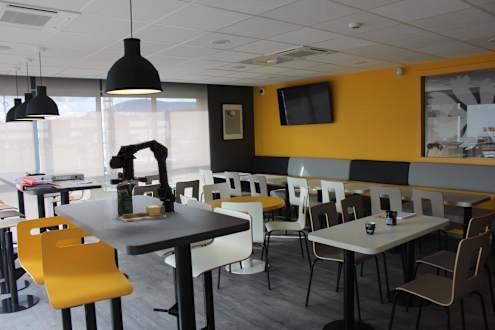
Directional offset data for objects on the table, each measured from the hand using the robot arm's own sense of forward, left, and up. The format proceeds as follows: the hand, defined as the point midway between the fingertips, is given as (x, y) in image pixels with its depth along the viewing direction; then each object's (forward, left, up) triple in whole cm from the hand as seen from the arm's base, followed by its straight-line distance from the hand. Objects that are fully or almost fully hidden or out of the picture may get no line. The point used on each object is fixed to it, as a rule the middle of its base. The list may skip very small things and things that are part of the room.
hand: (129, 196), depth 214 cm
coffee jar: (-2, -22, -13) cm, 26 cm away
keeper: (-14, -3, -12) cm, 18 cm away
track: (-8, -3, -13) cm, 15 cm away
